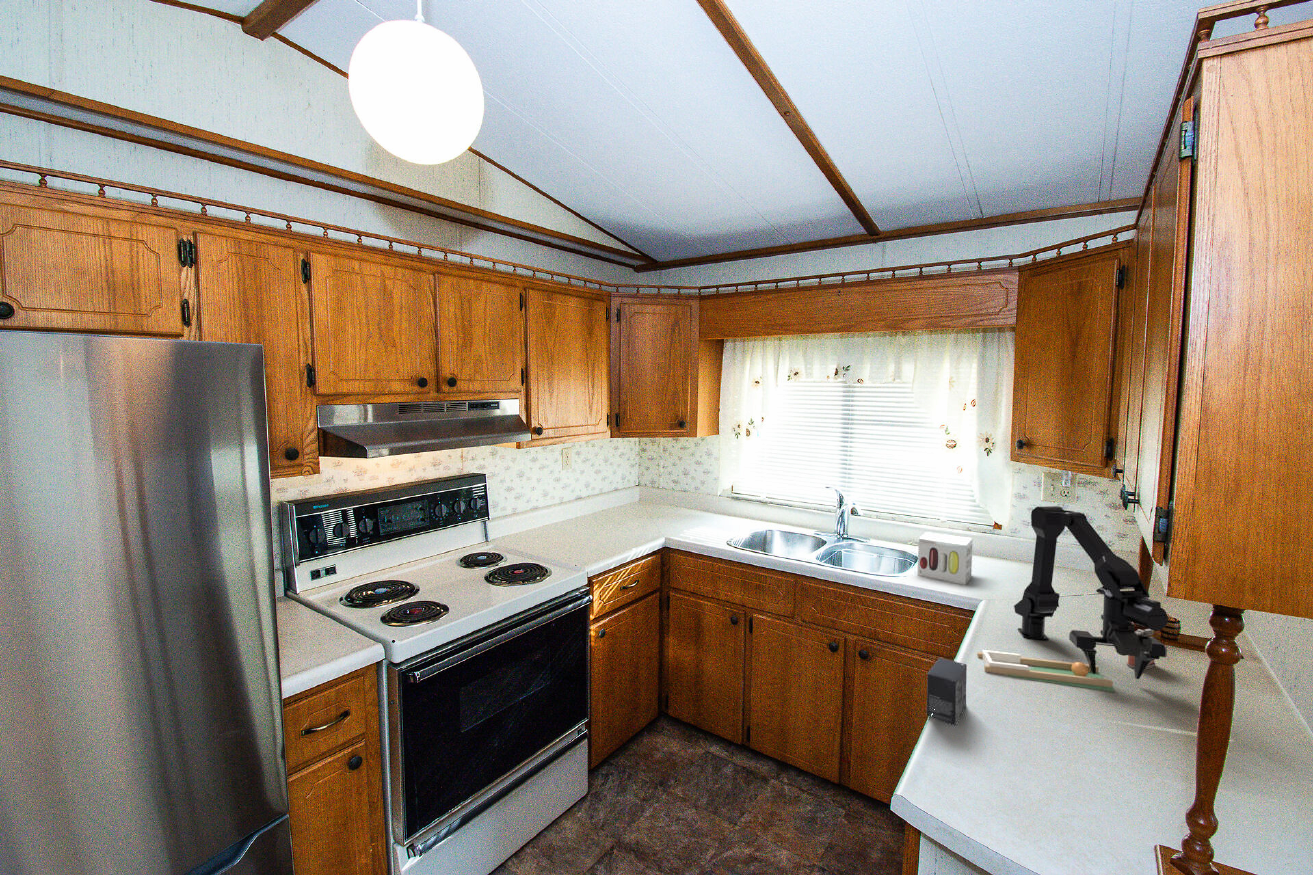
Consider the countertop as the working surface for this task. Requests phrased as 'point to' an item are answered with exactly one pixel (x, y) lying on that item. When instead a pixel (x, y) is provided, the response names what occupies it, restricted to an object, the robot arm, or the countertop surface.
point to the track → (1054, 674)
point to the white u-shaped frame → (1003, 660)
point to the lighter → (1132, 658)
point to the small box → (946, 690)
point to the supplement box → (945, 557)
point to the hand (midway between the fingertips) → (1115, 675)
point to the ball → (1079, 669)
